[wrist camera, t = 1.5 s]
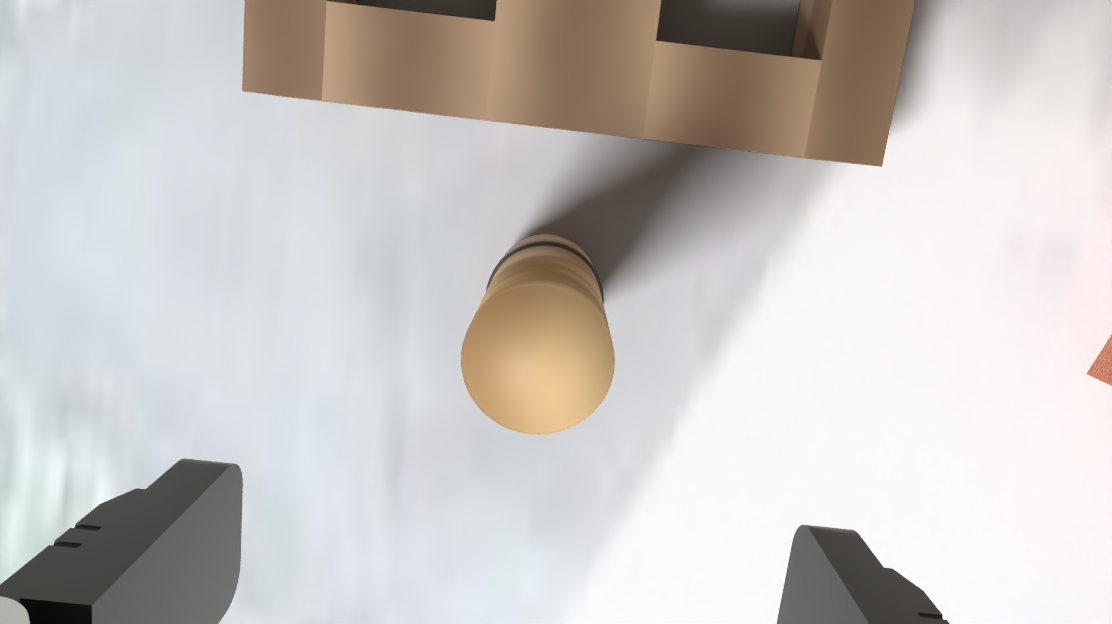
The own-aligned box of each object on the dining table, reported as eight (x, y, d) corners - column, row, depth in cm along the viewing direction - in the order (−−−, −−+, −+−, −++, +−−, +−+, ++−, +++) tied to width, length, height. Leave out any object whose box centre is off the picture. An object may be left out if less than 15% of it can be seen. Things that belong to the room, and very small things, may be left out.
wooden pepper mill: (604, 234, 32) (628, 292, 20) (591, 335, 33) (607, 446, 21) (500, 222, 32) (464, 273, 20) (490, 323, 33) (450, 428, 21)
